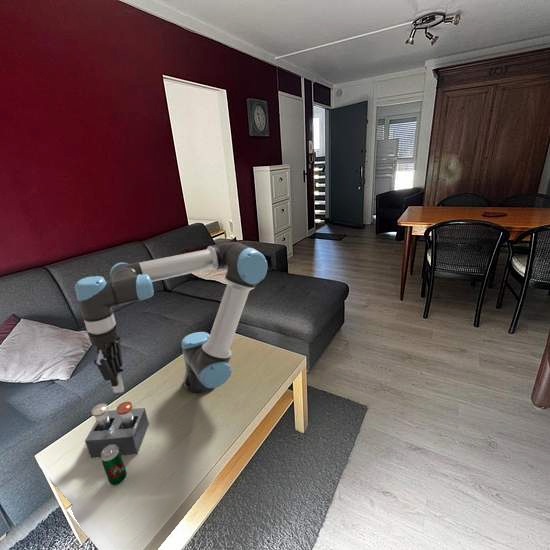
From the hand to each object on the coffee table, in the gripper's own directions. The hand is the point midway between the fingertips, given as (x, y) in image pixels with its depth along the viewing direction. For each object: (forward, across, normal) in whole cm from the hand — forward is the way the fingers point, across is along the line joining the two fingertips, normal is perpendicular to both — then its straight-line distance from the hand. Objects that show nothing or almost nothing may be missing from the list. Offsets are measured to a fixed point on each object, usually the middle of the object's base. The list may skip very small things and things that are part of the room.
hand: (119, 390), depth 98 cm
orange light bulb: (+15, 0, 0) cm, 15 cm away
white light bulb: (+15, 0, -8) cm, 17 cm away
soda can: (+22, +14, 0) cm, 26 cm away
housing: (+22, 0, -4) cm, 22 cm away
